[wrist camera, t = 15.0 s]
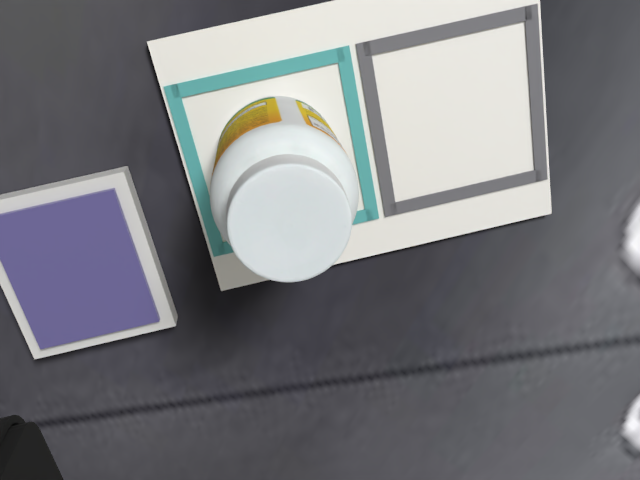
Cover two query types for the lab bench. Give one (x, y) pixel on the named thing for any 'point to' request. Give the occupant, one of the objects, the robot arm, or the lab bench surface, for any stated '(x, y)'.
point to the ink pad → (81, 264)
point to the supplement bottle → (283, 189)
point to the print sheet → (380, 110)
